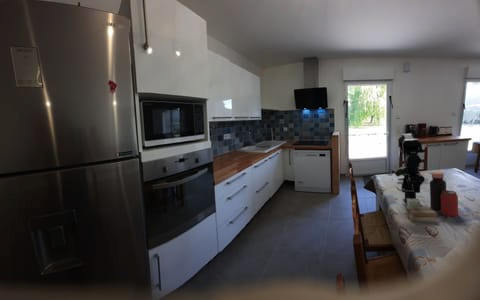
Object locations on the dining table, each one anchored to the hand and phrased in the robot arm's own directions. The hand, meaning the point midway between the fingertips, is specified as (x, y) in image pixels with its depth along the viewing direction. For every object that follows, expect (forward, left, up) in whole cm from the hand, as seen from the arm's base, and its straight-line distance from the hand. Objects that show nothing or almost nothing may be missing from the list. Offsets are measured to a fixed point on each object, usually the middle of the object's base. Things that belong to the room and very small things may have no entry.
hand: (412, 190), depth 131 cm
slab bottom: (+12, 0, -11) cm, 16 cm away
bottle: (-3, +12, -12) cm, 17 cm away
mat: (+12, 0, -11) cm, 17 cm away
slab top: (+12, 0, -9) cm, 15 cm away
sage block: (0, 0, -11) cm, 11 cm away
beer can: (+5, +14, -12) cm, 19 cm away
